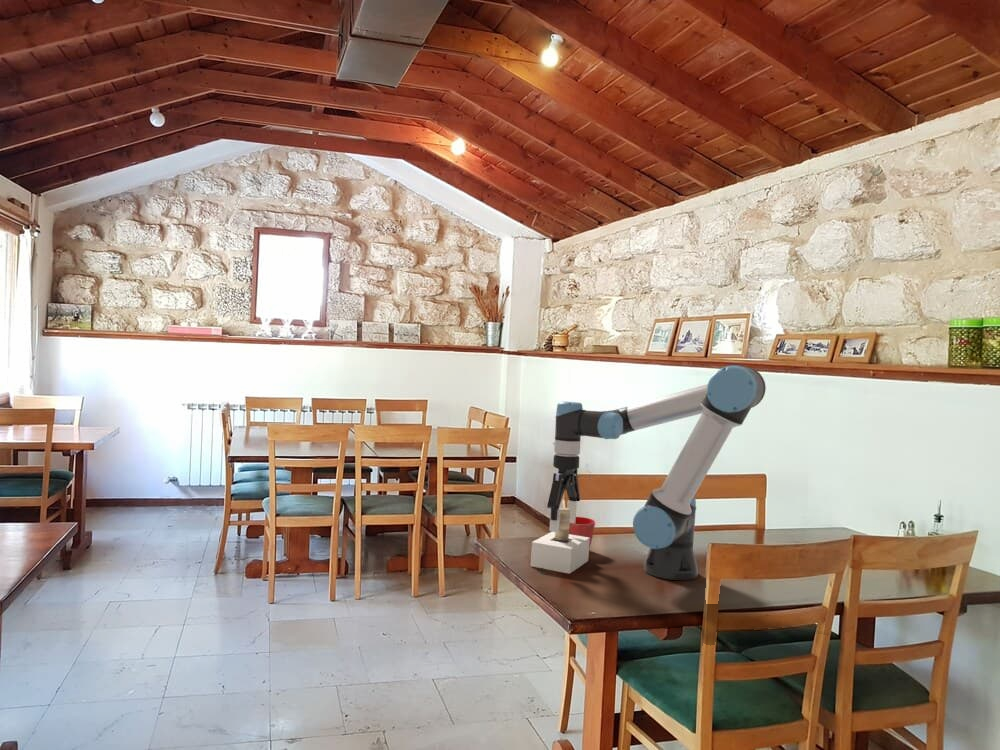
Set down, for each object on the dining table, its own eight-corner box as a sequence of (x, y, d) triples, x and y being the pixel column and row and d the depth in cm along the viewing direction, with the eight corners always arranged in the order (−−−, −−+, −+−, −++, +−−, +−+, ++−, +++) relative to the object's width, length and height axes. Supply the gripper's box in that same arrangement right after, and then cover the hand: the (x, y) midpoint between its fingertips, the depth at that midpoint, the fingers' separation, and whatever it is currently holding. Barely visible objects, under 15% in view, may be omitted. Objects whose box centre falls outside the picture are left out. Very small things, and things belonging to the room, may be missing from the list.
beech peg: (569, 556, 220) (572, 509, 220) (564, 559, 217) (567, 511, 216) (556, 553, 222) (559, 507, 222) (551, 556, 218) (554, 509, 218)
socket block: (588, 560, 224) (589, 537, 224) (569, 573, 210) (571, 548, 209) (551, 554, 229) (552, 531, 229) (530, 566, 215) (531, 542, 215)
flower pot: (555, 552, 232) (557, 521, 231) (564, 544, 242) (565, 514, 242) (589, 557, 228) (591, 525, 228) (596, 548, 239) (598, 518, 238)
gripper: (569, 449, 231) (565, 517, 232) (538, 457, 209) (534, 533, 209) (592, 451, 228) (588, 521, 229) (563, 460, 206) (559, 537, 206)
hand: (562, 526), depth 219 cm, fingers open, 13 cm apart
